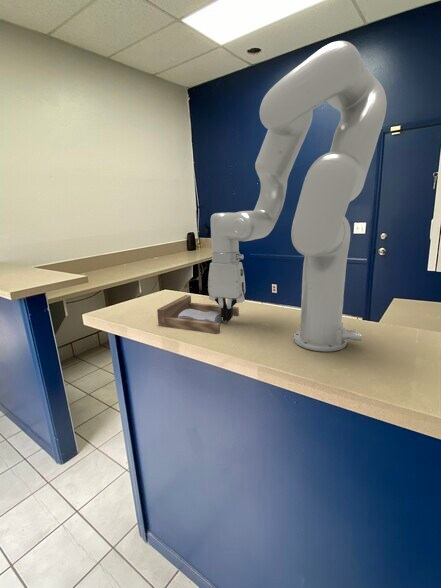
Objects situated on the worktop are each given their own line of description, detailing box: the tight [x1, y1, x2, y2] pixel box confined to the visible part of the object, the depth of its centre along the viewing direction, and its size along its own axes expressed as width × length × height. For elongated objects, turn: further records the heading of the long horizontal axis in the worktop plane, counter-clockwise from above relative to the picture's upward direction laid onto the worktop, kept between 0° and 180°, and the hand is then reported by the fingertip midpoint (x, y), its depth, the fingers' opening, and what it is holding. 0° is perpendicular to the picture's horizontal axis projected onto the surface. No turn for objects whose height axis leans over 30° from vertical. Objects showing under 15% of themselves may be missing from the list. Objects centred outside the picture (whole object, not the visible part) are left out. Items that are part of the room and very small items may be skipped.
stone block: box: [178, 309, 223, 324], centre depth 92 cm, size 12×5×10 cm
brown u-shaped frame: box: [156, 294, 240, 334], centre depth 94 cm, size 19×17×5 cm
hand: (227, 320), depth 91 cm, fingers closed
